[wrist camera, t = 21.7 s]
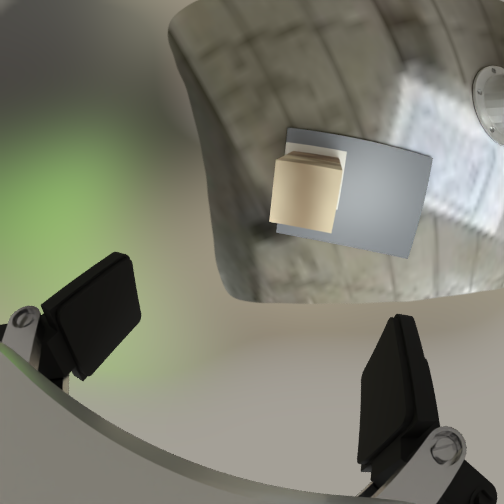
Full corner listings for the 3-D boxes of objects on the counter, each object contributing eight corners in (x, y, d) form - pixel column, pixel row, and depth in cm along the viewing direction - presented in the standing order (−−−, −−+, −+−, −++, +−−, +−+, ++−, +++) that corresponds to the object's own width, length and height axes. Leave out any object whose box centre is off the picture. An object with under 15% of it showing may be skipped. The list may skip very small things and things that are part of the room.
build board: (431, 157, 29) (432, 158, 29) (406, 257, 36) (407, 259, 35) (288, 127, 34) (287, 127, 33) (277, 231, 40) (276, 232, 40)
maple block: (340, 163, 28) (342, 170, 22) (331, 214, 30) (331, 233, 25) (286, 154, 29) (275, 159, 24) (280, 205, 32) (269, 221, 26)
